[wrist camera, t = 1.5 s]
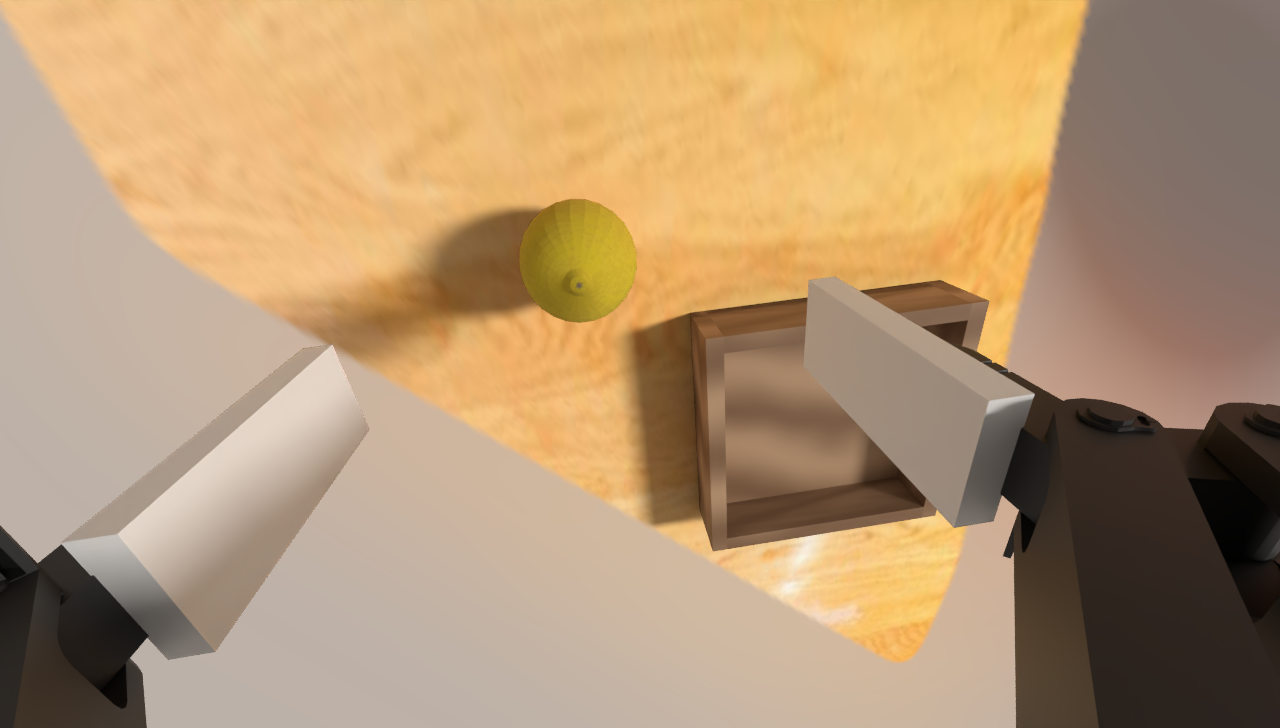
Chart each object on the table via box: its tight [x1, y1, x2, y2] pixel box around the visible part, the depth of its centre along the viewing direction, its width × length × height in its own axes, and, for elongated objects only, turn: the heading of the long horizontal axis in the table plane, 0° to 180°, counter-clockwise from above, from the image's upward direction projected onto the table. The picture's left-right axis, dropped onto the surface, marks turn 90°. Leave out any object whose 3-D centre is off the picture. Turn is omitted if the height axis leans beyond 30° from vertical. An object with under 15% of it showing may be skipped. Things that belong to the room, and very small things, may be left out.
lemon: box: [519, 199, 637, 323], centre depth 23 cm, size 6×6×8 cm
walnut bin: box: [690, 280, 989, 551], centre depth 31 cm, size 16×16×4 cm
